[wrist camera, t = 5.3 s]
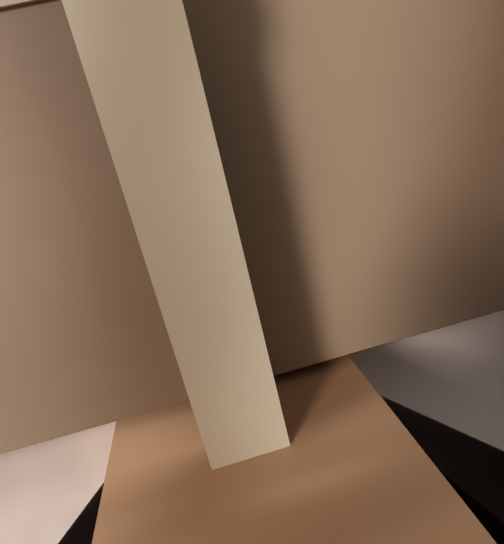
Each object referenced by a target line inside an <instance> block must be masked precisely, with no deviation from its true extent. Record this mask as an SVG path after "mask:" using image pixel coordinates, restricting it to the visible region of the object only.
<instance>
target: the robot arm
mask: <svg viewBox="0 0 504 544" xmlns="http://www.w3.org/2000/svg"><path fill="white" fill-rule="evenodd" d="M380 396H381V395H380ZM381 397H382V399H383V400H384V401H385V402H386V404H387V405H388V406H389V407H390V409H391V410H392V411H393V412H394V414H395V415H396V416H397V418H398V419H399V420H400V421H401V423H402V424H403V425H404V426H405V428H406V429H407V430H408V431H409V433H410V434H411V435H412V437H413V438H414V439H415V440H416V442H417V443H418V444H419V445H420V447H421V448H422V449H423V451H424V452H425V453H426V454H427V456H428V457H429V458H430V459H431V461H432V462H433V463H434V464H435V466H436V467H437V468H438V470H439V471H440V472H441V473H442V475H443V476H444V477H445V478H446V480H447V481H448V482H449V483H450V485H451V486H452V487H453V489H454V490H455V491H456V492H457V494H458V495H459V496H460V497H461V499H462V500H463V501H464V502H465V504H466V505H467V506H468V508H469V509H470V510H471V511H472V513H473V514H474V515H475V516H476V518H477V519H478V520H479V522H480V523H481V524H482V525H483V527H484V528H485V529H486V530H487V532H488V533H489V534H490V535H491V537H492V538H493V539H494V541H495V542H496V543H497V544H504V451H502V450H500V449H498V448H496V447H493V446H491V445H489V444H487V443H484V442H482V441H480V440H478V439H476V438H473V437H471V436H469V435H467V434H465V433H462V432H460V431H458V430H456V429H454V428H451V427H449V426H447V425H445V424H442V423H440V422H438V421H436V420H434V419H431V418H429V417H427V416H425V415H423V414H420V413H418V412H416V411H414V410H411V409H409V408H407V407H405V406H403V405H400V404H398V403H396V402H394V401H392V400H389V399H387V398H385V397H383V396H381ZM103 486H104V483H103V484H102V486H101V487H100V488H99V490H98V491H97V492H96V494H95V495H94V496H93V498H92V499H91V500H90V502H89V503H88V504H87V506H86V507H85V508H84V510H83V511H82V512H81V514H80V515H79V516H78V518H77V519H76V520H75V522H74V523H73V524H72V526H71V527H70V528H69V530H68V531H67V532H66V534H65V535H64V536H63V538H62V539H61V540H60V542H59V543H58V544H92V540H93V535H94V530H95V525H96V520H97V515H98V510H99V505H100V501H101V496H102V491H103Z"/></svg>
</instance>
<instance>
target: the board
mask: <svg viewBox="0 0 504 544" xmlns="http://www.w3.org/2000/svg"><path fill="white" fill-rule="evenodd" d="M182 2H183V6H184V10H185V14H186V18H187V22H188V26H189V30H190V35H191V39H192V43H193V47H194V51H195V55H196V59H197V63H198V67H199V72H200V76H201V80H202V84H203V88H204V92H205V96H206V100H207V105H208V109H209V113H210V117H211V121H212V125H213V129H214V133H215V137H216V142H217V146H218V150H219V154H220V158H221V162H222V166H223V170H224V174H225V179H226V183H227V187H228V191H229V195H230V199H231V203H232V207H233V212H234V216H235V220H236V224H237V228H238V232H239V236H240V240H241V244H242V249H243V253H244V257H245V261H246V265H247V269H248V273H249V277H250V281H251V286H252V290H253V294H254V298H255V302H256V306H257V310H258V314H259V319H260V323H261V327H262V331H263V335H264V339H265V343H266V347H267V351H268V356H269V360H270V364H271V368H272V372H273V376H274V375H278V374H281V373H285V372H288V371H292V370H295V369H299V368H302V367H306V366H309V365H313V364H316V363H320V362H323V361H327V360H330V359H333V358H337V357H340V356H344V355H347V354H351V353H354V352H358V351H361V350H365V349H368V348H372V347H375V346H379V345H382V344H386V343H389V342H393V341H396V340H400V339H403V338H407V337H410V336H414V335H417V334H421V333H424V332H428V331H431V330H435V329H438V328H442V327H445V326H449V325H452V324H456V323H459V322H463V321H466V320H470V319H473V318H477V317H480V316H484V315H487V314H491V313H494V312H498V311H501V310H504V0H182ZM187 400H189V397H188V394H187V391H186V388H185V385H184V381H183V378H182V375H181V372H180V369H179V366H178V363H177V360H176V356H175V353H174V350H173V347H172V344H171V341H170V338H169V335H168V331H167V328H166V325H165V322H164V319H163V316H162V313H161V310H160V306H159V303H158V300H157V297H156V294H155V291H154V288H153V285H152V281H151V278H150V275H149V272H148V269H147V266H146V263H145V260H144V257H143V253H142V250H141V247H140V244H139V241H138V238H137V235H136V232H135V228H134V225H133V222H132V219H131V216H130V213H129V210H128V207H127V203H126V200H125V197H124V194H123V191H122V188H121V185H120V182H119V178H118V175H117V172H116V169H115V166H114V163H113V160H112V157H111V153H110V150H109V147H108V144H107V141H106V138H105V135H104V132H103V128H102V125H101V122H100V119H99V116H98V113H97V110H96V107H95V103H94V100H93V97H92V94H91V91H90V88H89V85H88V82H87V78H86V75H85V72H84V69H83V66H82V63H81V60H80V57H79V53H78V50H77V47H76V44H75V41H74V38H73V35H72V32H71V28H70V25H69V22H68V19H67V16H66V13H65V10H64V7H63V3H62V0H0V454H2V453H5V452H9V451H12V450H16V449H19V448H23V447H26V446H30V445H33V444H37V443H40V442H44V441H47V440H51V439H54V438H58V437H61V436H65V435H68V434H72V433H75V432H79V431H82V430H86V429H89V428H93V427H96V426H100V425H103V424H107V423H110V422H114V421H117V420H121V419H124V418H128V417H131V416H135V415H138V414H142V413H145V412H149V411H152V410H155V409H159V408H162V407H166V406H169V405H173V404H176V403H180V402H183V401H187Z"/></svg>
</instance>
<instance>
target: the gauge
mask: <svg viewBox="0 0 504 544" xmlns="http://www.w3.org/2000/svg"><path fill="white" fill-rule="evenodd" d="M62 3H63V7H64V10H65V13H66V16H67V19H68V22H69V25H70V28H71V32H72V35H73V38H74V41H75V44H76V47H77V50H78V53H79V57H80V60H81V63H82V66H83V69H84V72H85V75H86V78H87V82H88V85H89V88H90V91H91V94H92V97H93V100H94V103H95V107H96V110H97V113H98V116H99V119H100V122H101V125H102V128H103V132H104V135H105V138H106V141H107V144H108V147H109V150H110V153H111V157H112V160H113V163H114V166H115V169H116V172H117V175H118V178H119V182H120V185H121V188H122V191H123V194H124V197H125V200H126V203H127V207H128V210H129V213H130V216H131V219H132V222H133V225H134V228H135V232H136V235H137V238H138V241H139V244H140V247H141V250H142V253H143V257H144V260H145V263H146V266H147V269H148V272H149V275H150V278H151V281H152V285H153V288H154V291H155V294H156V297H157V300H158V303H159V306H160V310H161V313H162V316H163V319H164V322H165V325H166V328H167V331H168V335H169V338H170V341H171V344H172V347H173V350H174V353H175V356H176V360H177V363H178V366H179V369H180V372H181V375H182V378H183V381H184V385H185V388H186V391H187V394H188V397H189V400H187V401H183V402H180V403H176V404H173V405H169V406H166V407H162V408H159V409H155V410H152V411H149V412H145V413H142V414H138V415H135V416H131V417H128V418H124V419H121V420H117V423H116V427H115V432H114V437H113V442H112V447H111V452H110V457H109V462H108V466H107V471H106V476H105V481H104V486H103V491H102V496H101V501H100V505H99V510H98V515H97V520H96V525H95V530H94V535H93V540H92V544H497V543H496V542H495V541H494V539H493V538H492V537H491V535H490V534H489V533H488V532H487V530H486V529H485V528H484V527H483V525H482V524H481V523H480V522H479V520H478V519H477V518H476V516H475V515H474V514H473V513H472V511H471V510H470V509H469V508H468V506H467V505H466V504H465V502H464V501H463V500H462V499H461V497H460V496H459V495H458V494H457V492H456V491H455V490H454V489H453V487H452V486H451V485H450V483H449V482H448V481H447V480H446V478H445V477H444V476H443V475H442V473H441V472H440V471H439V470H438V468H437V467H436V466H435V464H434V463H433V462H432V461H431V459H430V458H429V457H428V456H427V454H426V453H425V452H424V451H423V449H422V448H421V447H420V445H419V444H418V443H417V442H416V440H415V439H414V438H413V437H412V435H411V434H410V433H409V431H408V430H407V429H406V428H405V426H404V425H403V424H402V423H401V421H400V420H399V419H398V418H397V416H396V415H395V414H394V412H393V411H392V410H391V409H390V407H389V406H388V405H387V404H386V402H385V401H384V400H383V399H382V397H381V396H380V395H379V393H378V392H377V391H376V390H375V388H374V387H373V386H372V385H371V383H370V382H369V381H368V379H367V378H366V377H365V376H364V374H363V373H362V372H361V371H360V369H359V368H358V367H357V366H356V364H355V363H354V362H353V360H352V359H351V358H350V357H349V355H348V354H347V355H344V356H340V357H337V358H333V359H330V360H327V361H323V362H320V363H316V364H313V365H309V366H306V367H302V368H299V369H295V370H292V371H288V372H285V373H281V374H278V375H274V376H273V372H272V368H271V364H270V360H269V356H268V351H267V347H266V343H265V339H264V335H263V331H262V327H261V323H260V319H259V314H258V310H257V306H256V302H255V298H254V294H253V290H252V286H251V281H250V277H249V273H248V269H247V265H246V261H245V257H244V253H243V249H242V244H241V240H240V236H239V232H238V228H237V224H236V220H235V216H234V212H233V207H232V203H231V199H230V195H229V191H228V187H227V183H226V179H225V174H224V170H223V166H222V162H221V158H220V154H219V150H218V146H217V142H216V137H215V133H214V129H213V125H212V121H211V117H210V113H209V109H208V105H207V100H206V96H205V92H204V88H203V84H202V80H201V76H200V72H199V67H198V63H197V59H196V55H195V51H194V47H193V43H192V39H191V35H190V30H189V26H188V22H187V18H186V14H185V10H184V6H183V2H182V0H62Z"/></svg>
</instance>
